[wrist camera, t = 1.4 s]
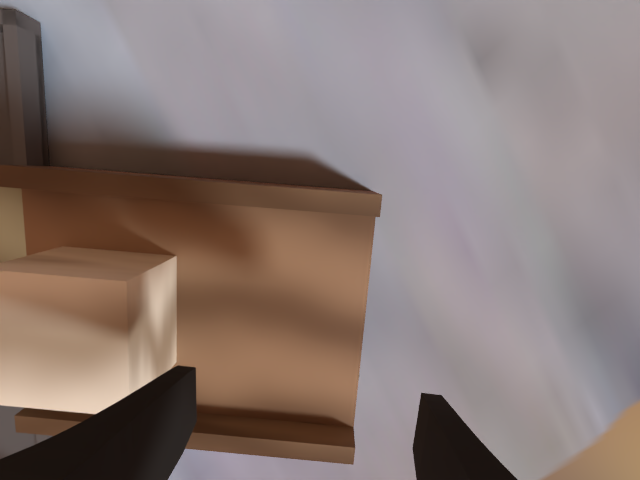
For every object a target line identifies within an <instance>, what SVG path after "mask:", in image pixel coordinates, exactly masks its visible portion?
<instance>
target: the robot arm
mask: <svg viewBox="0 0 640 480" xmlns="http://www.w3.org/2000/svg"><path fill="white" fill-rule="evenodd" d="M196 422H197V404H196V367H189V366H180V365H177V366H176V367H174V368H172V369H170V370H168V371H167V372H165V373H164V374H162V375H160V376H159V377H157V378H155V379H154V380H152V381H151V382H149V383H147V384H146V385H144V386H143V387H141V388H139V389H138V390H136V391H134V392H133V393H131V394H130V395H128V396H126V397H125V398H123V399H121V400H120V401H118V402H116V403H114V404H113V405H111V406H109V407H107V408H106V409H104V410H102V411H100V412H98V413H97V414H95V415H93V416H91V417H90V418H88V419H86V420H84V421H82V422H80V423H79V424H77V425H75V426H73V427H71V428H69V429H67V430H65V431H63V432H61V433H59V434H57V435H54V436H52V437H50V438H48V439H46V440H44V441H42V442H40V443H37V444H35V445H33V446H31V447H28V448H26V449H23V450H21V451H19V452H16V453H14V454H11V455H9V456H7V457H4V458H2V459H0V480H168V478H169V476H170V475H171V473H172V471H173V469H174V468H175V466H176V464H177V462H178V461H179V459H180V457H181V455H182V454H183V452H184V449H185V447H186V445H187V443H188V441H189V438H190V436H191V434H192V431H193V429H194V427H195V424H196ZM413 454H414V463H415V470H416V477H417V480H517V479H516V478H515V477H514V476H513V475H512V474H511V473H510V472H509V471H508V470H507V469H506V468H505V467H504V466H503V465H502V463H501V462H500V461H499V460H498V459H497V458H496V457H495V456H494V455H493V454H492V453H491V452H490V451H489V450H488V449H487V448H486V446H485V445H484V444H483V443H482V442H481V441H480V440H479V439H478V438H477V436H476V435H475V434H474V433H473V432H472V431H471V430H470V428H469V427H468V426H467V425H466V424H465V423H464V421H463V420H462V419H461V418H460V417H459V415H458V414H457V413H456V412H455V411H454V409H453V408H452V407H451V406H450V405H449V403H448V402H447V401H446V400H445V399H444V398H443V396H442V395H435V394H426V393H421V399H420V405H419V411H418V418H417V424H416V430H415V437H414V443H413Z"/></svg>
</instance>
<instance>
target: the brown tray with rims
mask: <svg viewBox="0 0 640 480" xmlns="http://www.w3.org/2000/svg"><path fill="white" fill-rule="evenodd" d="M381 201H382V195H381V194H379V193H376V192H373V191H365V190H352V189H339V188H327V187H314V186H301V185H288V184H275V183H262V182H249V181H236V180H224V179H211V178H198V177H185V176H172V175H159V174H146V173H134V172H121V171H108V170H95V169H82V168H69V167H54V166H24V165H0V263H1V262H5V261H9V260H13V259H17V258H21V257H24V256H28V255H32V254H36V253H40V252H44V251H47V250H51V249H55V248H59V247H63V246H65V247H77V248H89V249H101V250H113V251H125V252H137V253H149V254H161V255H173V256H177V362H176V363H175V364H174V366H173V367H172V368H174V367H176V366H177V365H180V366H189V367H196V404H197V422H196V424H195V427H194V429H193V431H192V434H191V436H190V438H189V441H188V443H187V445H186V447H185V448H186V449H196V450H207V451H217V452H227V453H238V454H248V455H259V456H269V457H280V458H290V459H301V460H311V461H322V462H332V463H343V464H353V462H354V453H355V441H354V429H353V426H354V417H355V407H356V398H357V388H358V379H359V369H360V360H361V350H362V341H363V331H364V321H365V312H366V302H367V293H368V283H369V274H370V264H371V255H372V245H373V236H374V226H375V217H380V210H381ZM172 368H171V369H172ZM93 415H95V414H88V413H78V412H67V411H56V410H45V409H35V408H24V409H22V410H21V411H20V412H18V413H17V414H16V415H14V418H15V429H16V432H18V433H28V434H39V435H49V436H54V435H57V434H59V433H61V432H63V431H65V430H67V429H69V428H71V427H73V426H75V425H77V424H79V423H80V422H82V421H84V420H86V419H88V418H90V417H91V416H93Z"/></svg>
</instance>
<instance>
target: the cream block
mask: <svg viewBox="0 0 640 480" xmlns="http://www.w3.org/2000/svg"><path fill="white" fill-rule="evenodd" d="M176 362H177V256H173V255H161V254H149V253H137V252H125V251H113V250H101V249H89V248H77V247H65V246H63V247H59V248H55V249H51V250H47V251H44V252H40V253H36V254H32V255H28V256H24V257H21V258H17V259H13V260H9V261H5V262H1V263H0V405H3V406H13V407H24V408H35V409H45V410H56V411H67V412H78V413H88V414H97V413H98V412H100V411H102V410H104V409H106V408H107V407H109V406H111V405H113V404H114V403H116V402H118V401H120V400H121V399H123V398H125V397H126V396H128V395H130V394H131V393H133V392H134V391H136V390H138V389H139V388H141V387H143V386H144V385H146V384H147V383H149V382H151V381H152V380H154V379H155V378H157V377H159V376H160V375H162V374H164V373H165V372H167V371H168V370H170V369H171V368H172V367H173V366H174V364H175V363H176Z"/></svg>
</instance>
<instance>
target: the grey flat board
mask: <svg viewBox="0 0 640 480" xmlns="http://www.w3.org/2000/svg"><path fill="white" fill-rule="evenodd" d="M0 165H24V166H49V153H48V138H47V122H46V106H45V90H44V74H43V58H42V42H41V27H40V22H38V21H36V20H34V19H32V18H30V17H28V16H26V15H24V14H22V13H20V12H19V11H17V10H11V9H0ZM22 409H24V407H13V406H3V405H0V459H2V458H4V457H7V456H9V455H11V454H14V453H16V452H19V451H21V450H23V449H26V448H28V447H31V446H33V445H35V444H37V443H40V442H42V441H44V440H46V439H48V438H50V437H52V436H49V435H39V434H28V433H18V432H16V429H15V418H14V415H16V414H17V413H18V412H20V411H21V410H22Z"/></svg>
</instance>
